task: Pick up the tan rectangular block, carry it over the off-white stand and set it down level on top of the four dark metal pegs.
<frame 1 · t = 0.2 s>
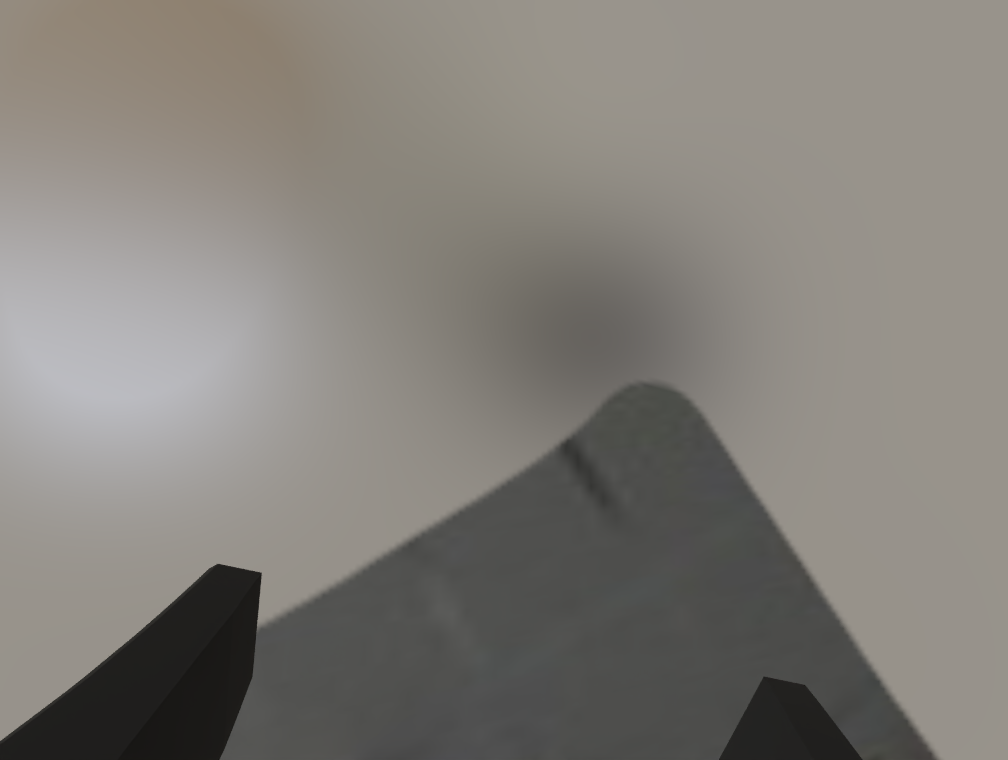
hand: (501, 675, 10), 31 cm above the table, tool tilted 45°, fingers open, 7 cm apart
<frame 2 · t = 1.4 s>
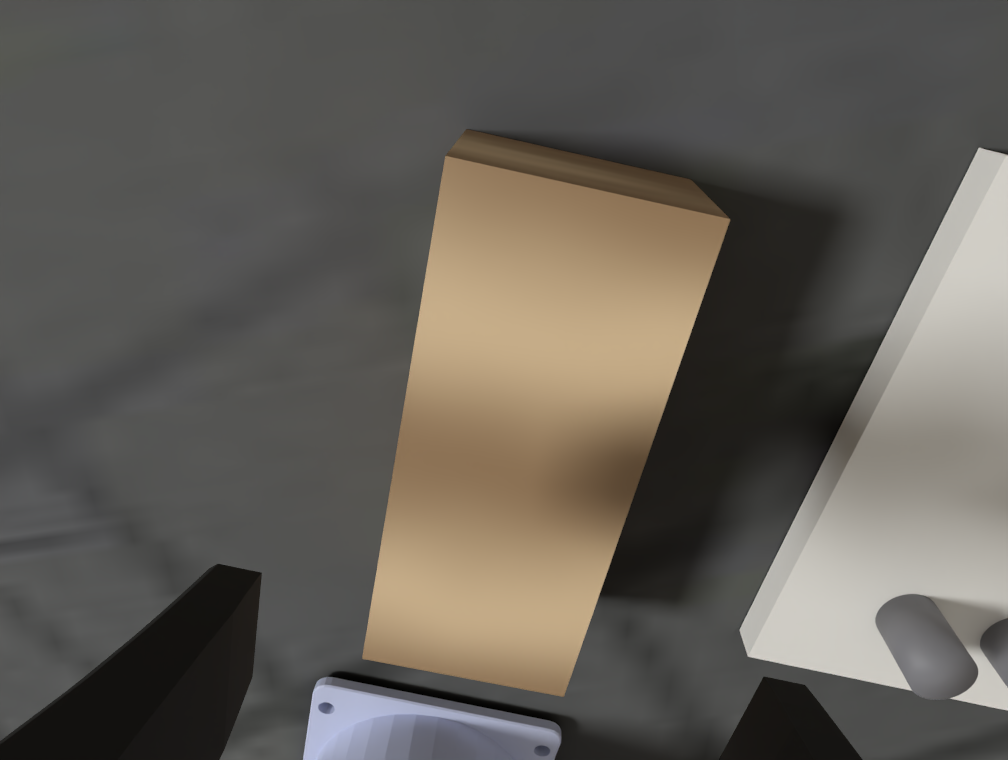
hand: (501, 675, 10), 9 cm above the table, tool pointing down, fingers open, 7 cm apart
tan rectangular block: (520, 389, 18), on the table
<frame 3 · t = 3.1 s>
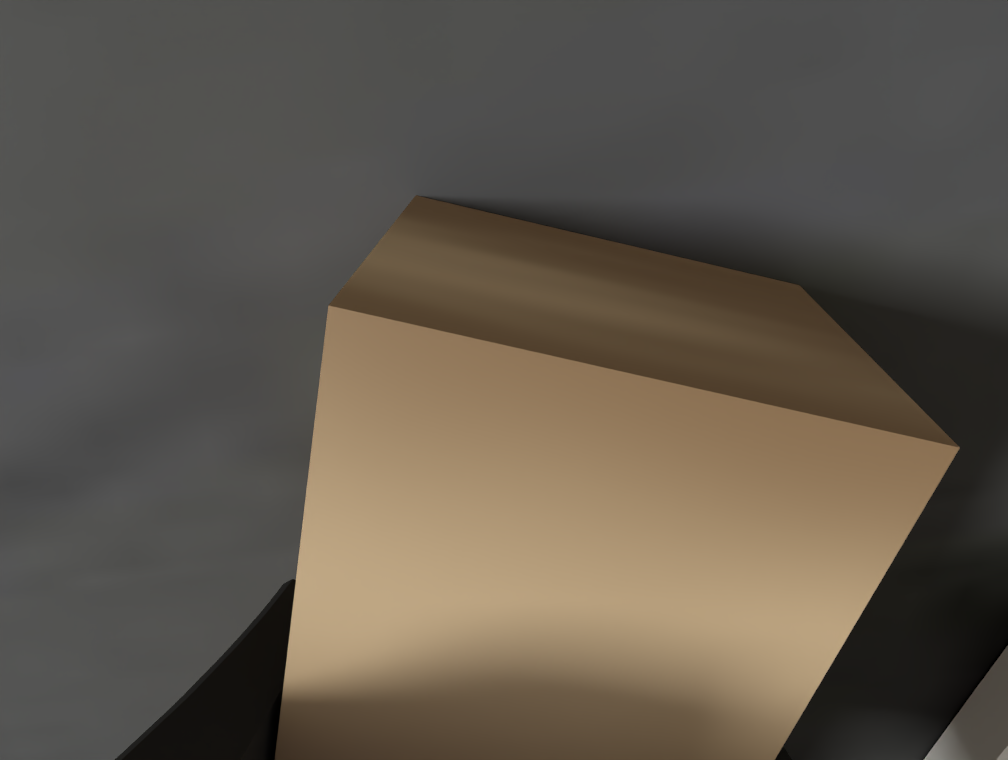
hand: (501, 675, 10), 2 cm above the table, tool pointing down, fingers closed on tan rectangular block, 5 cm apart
tan rectangular block: (506, 593, 12), on the table, touching gripper
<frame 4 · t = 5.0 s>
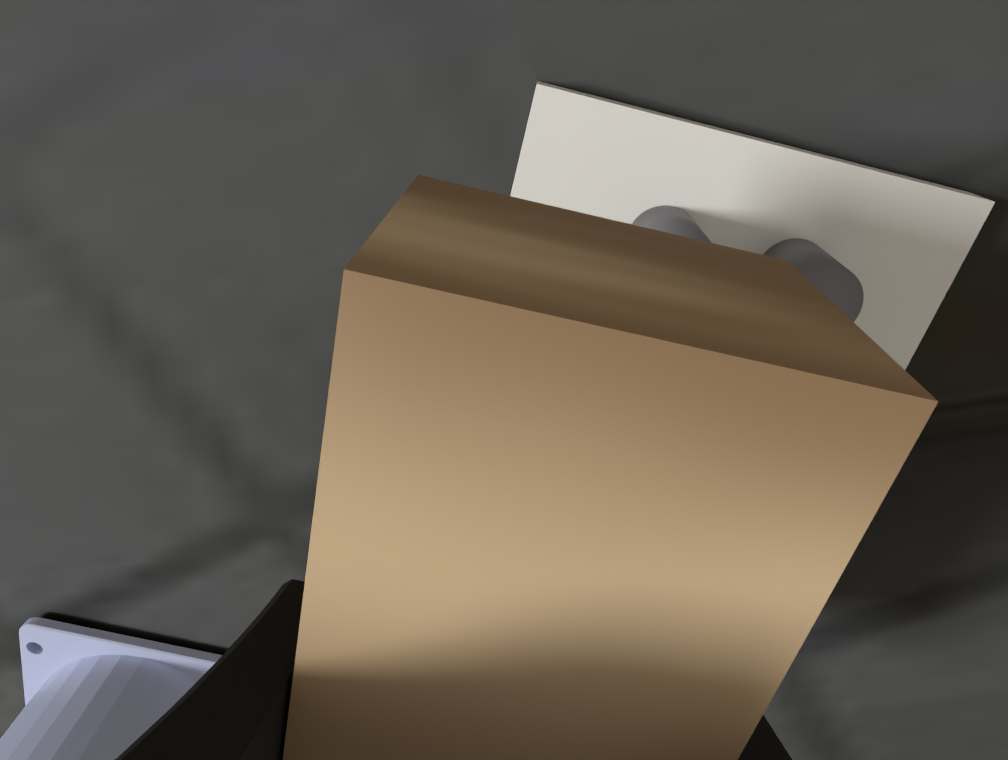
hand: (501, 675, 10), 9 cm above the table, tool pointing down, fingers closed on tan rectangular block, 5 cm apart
tan rectangular block: (506, 565, 12), point 7 cm above the table, touching gripper
peg stand: (655, 409, 19), on the table
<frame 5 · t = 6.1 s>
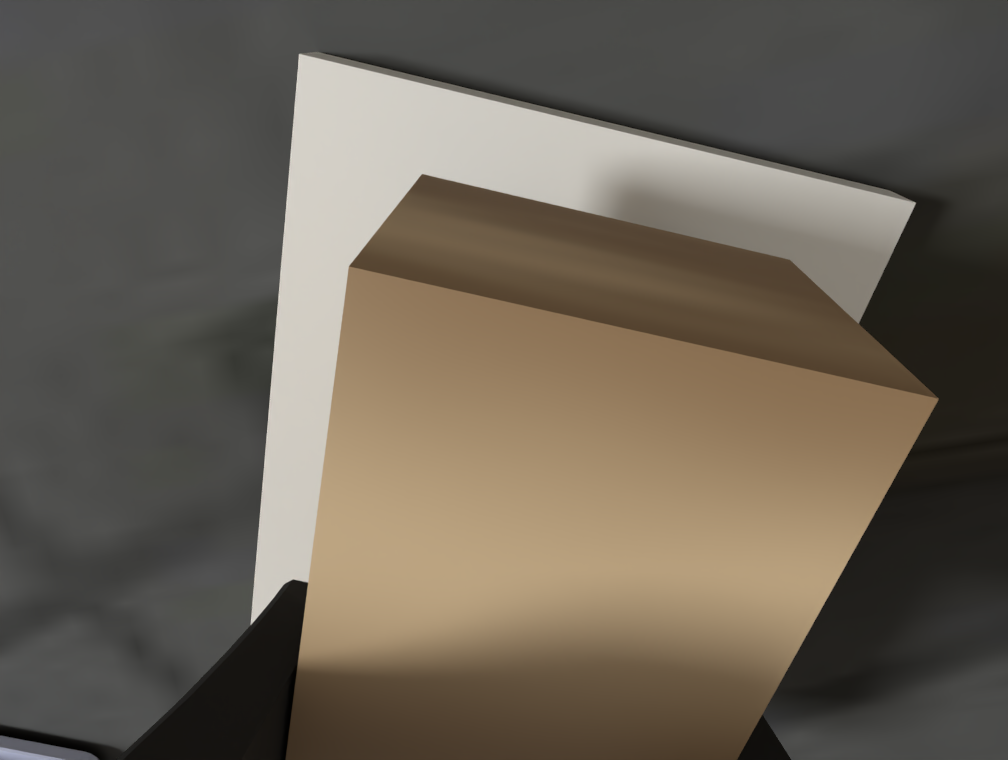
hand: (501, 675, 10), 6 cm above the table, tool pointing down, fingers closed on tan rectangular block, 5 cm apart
tan rectangular block: (508, 563, 12), point 3 cm above the table, touching gripper
peg stand: (516, 462, 15), on the table
when the fingers open (6 cm above the table, at t = 6.9 s): tan rectangular block stays where it is, resting on peg stand.
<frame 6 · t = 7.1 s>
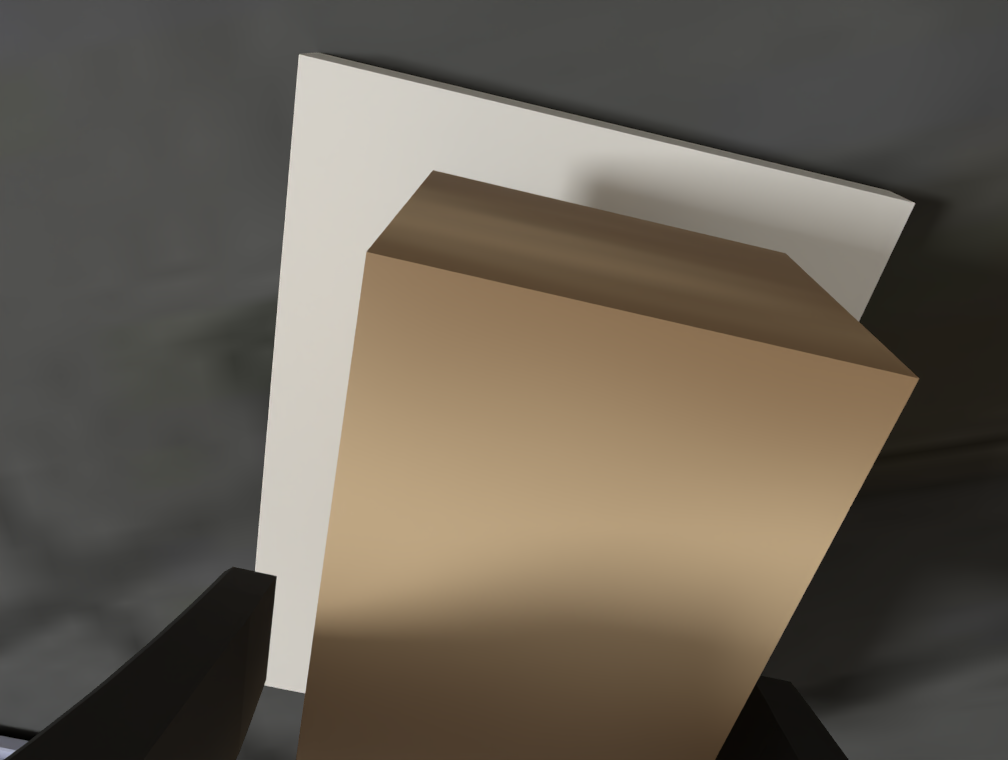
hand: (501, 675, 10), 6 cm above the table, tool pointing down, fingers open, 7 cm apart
tan rectangular block: (514, 548, 12), point 3 cm above the table, touching peg stand
peg stand: (516, 462, 15), on the table
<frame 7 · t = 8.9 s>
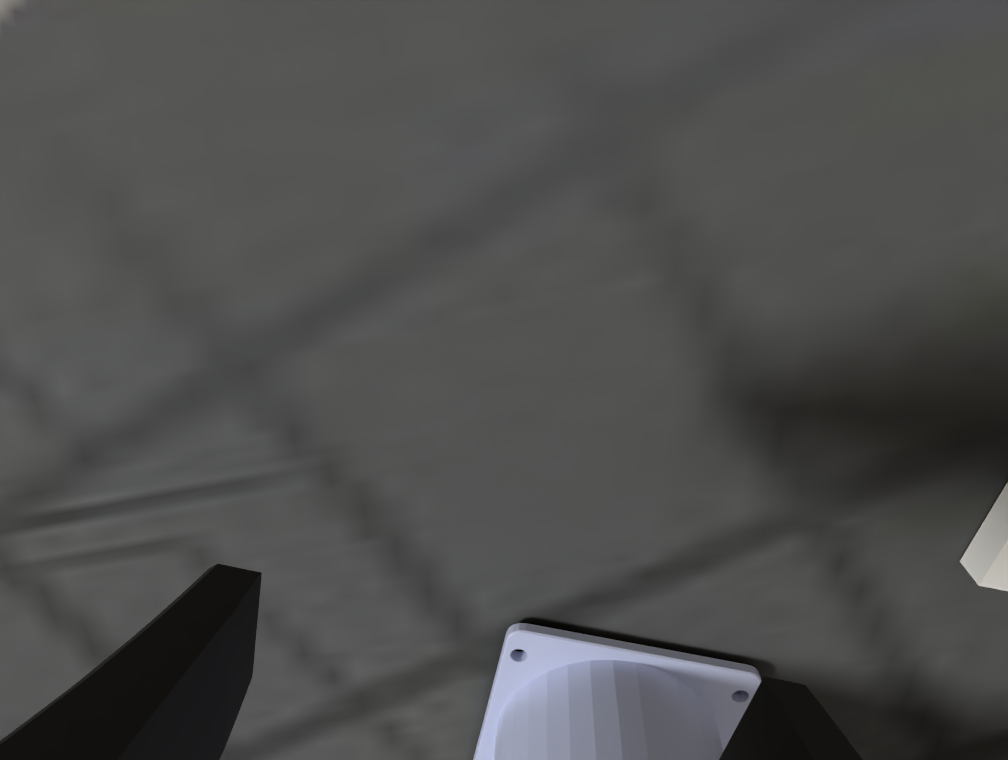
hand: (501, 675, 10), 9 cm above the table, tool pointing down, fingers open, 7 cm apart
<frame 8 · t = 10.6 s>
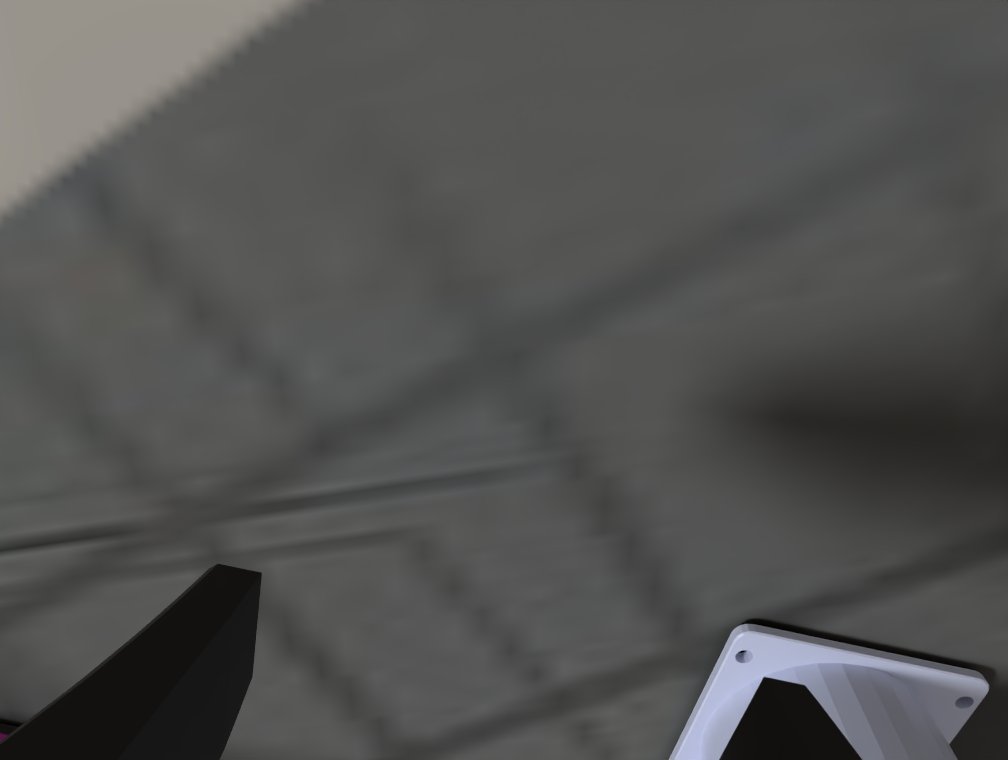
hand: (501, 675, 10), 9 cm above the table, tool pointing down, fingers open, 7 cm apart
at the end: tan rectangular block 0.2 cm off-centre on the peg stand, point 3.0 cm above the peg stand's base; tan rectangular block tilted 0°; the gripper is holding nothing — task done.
